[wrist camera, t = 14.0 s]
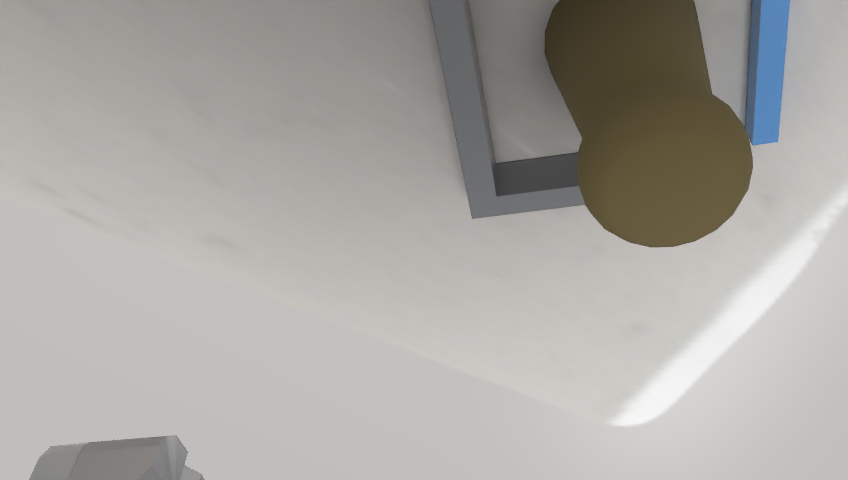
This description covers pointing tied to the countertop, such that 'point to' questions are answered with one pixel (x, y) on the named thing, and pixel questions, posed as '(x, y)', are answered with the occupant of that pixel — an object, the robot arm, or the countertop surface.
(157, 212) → the countertop surface
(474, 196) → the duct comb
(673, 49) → the cork
